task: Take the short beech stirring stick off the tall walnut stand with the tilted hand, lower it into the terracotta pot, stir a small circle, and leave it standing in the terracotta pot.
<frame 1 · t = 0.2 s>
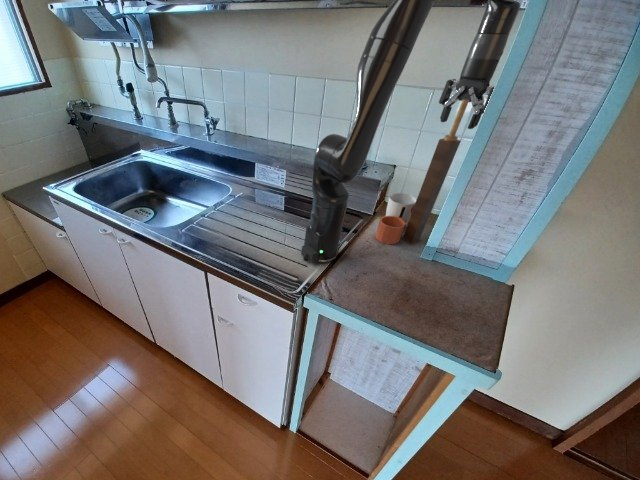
hand: (456, 125, 94), 29 cm above the countertop, tool pointing down, fingers open, 8 cm apart
cup: (393, 226, 110), on the countertop
stick: (450, 140, 83), point 30 cm above the countertop, touching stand
terracotta pot: (387, 238, 104), on the countertop
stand: (410, 239, 103), on the countertop
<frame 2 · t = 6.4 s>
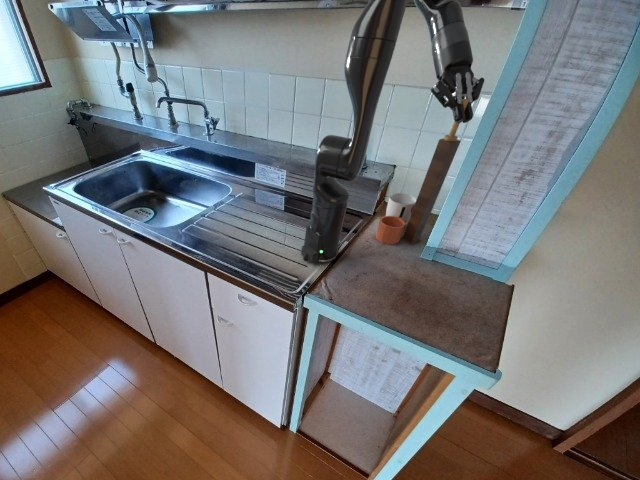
hand: (464, 121, 78), 35 cm above the countertop, tool tilted 45°, fingers closed on stick
stick: (449, 139, 83), point 30 cm above the countertop, touching gripper
everything else where it was.
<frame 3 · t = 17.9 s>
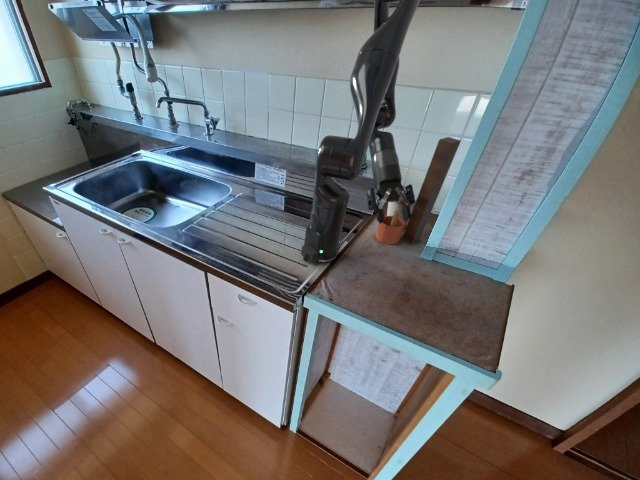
hand: (394, 221, 98), 7 cm above the countertop, tool tilted 45°, fingers open, 8 cm apart
cup: (394, 225, 110), on the countertop, touching hand
stick: (388, 237, 104), point 1 cm above the countertop, touching terracotta pot
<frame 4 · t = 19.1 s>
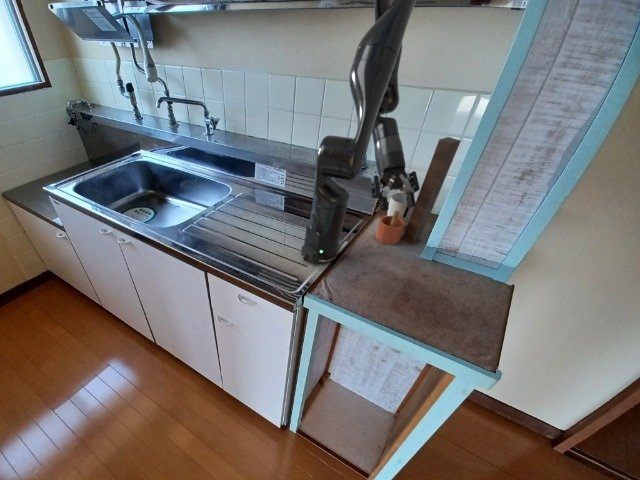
hand: (398, 208, 96), 11 cm above the countertop, tool tilted 45°, fingers open, 8 cm apart
cup: (394, 226, 110), on the countertop
everything else where it was.
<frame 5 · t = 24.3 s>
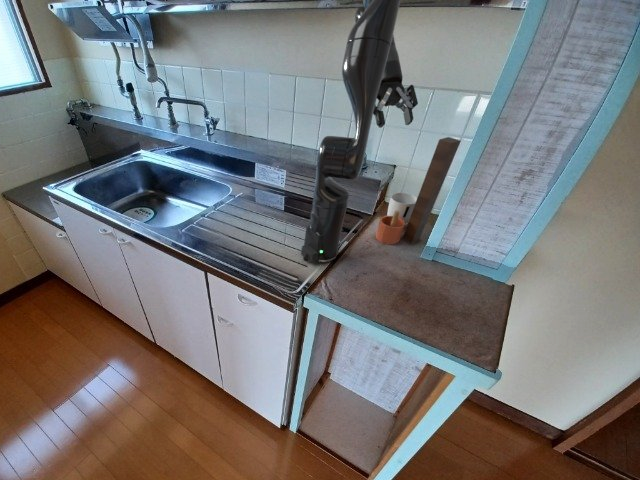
hand: (395, 124, 91), 31 cm above the countertop, tool tilted 45°, fingers open, 8 cm apart
nothing on the countertop moved.
at the end: stick 0.5 cm off-centre in the terracotta pot, point 0.6 cm above the terracotta pot's base; stick tilted 0°; the gripper is holding nothing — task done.
